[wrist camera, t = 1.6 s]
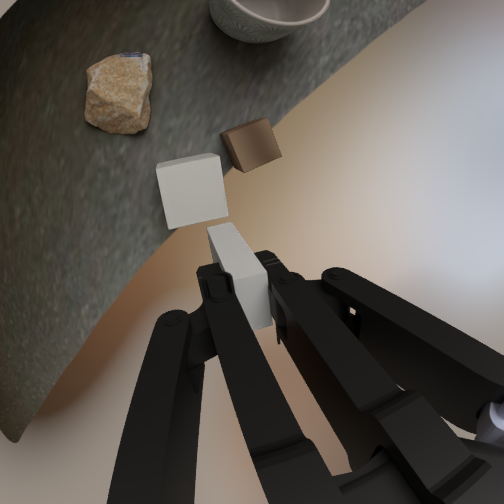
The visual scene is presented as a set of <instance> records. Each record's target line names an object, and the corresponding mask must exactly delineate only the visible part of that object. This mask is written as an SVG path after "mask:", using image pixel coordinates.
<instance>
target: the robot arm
mask: <svg viewBox="0 0 504 504" xmlns="http://www.w3.org/2000/svg"><path fill="white" fill-rule="evenodd" d="M207 232H208V238H209V243H210V248H211V253H212V258H213V264H208V265H205V266H200V267H199V268H198V270H197V272H196V274H197V278H198V282H199V286H200V291H201V295H202V298H203V302H202V305H201V306H200V307H199V308H198V309H197V310H196V311H194V312H192V313H190V314H188V313H187V312H185V311H183V310H171V311H168V312H166V313H164V314H162V315H161V316H160V317H159V318H158V319H157V321H156V324H155V327H154V329H153V332H152V335H151V338H150V341H149V344H148V348H147V351H146V354H145V357H144V360H143V363H142V367H141V370H140V373H139V376H138V380H137V383H136V386H135V390H134V393H133V397H132V400H131V404H130V407H129V411H128V414H127V418H126V422H125V426H124V429H123V433H122V437H121V441H120V445H119V449H118V454H117V458H116V462H115V467H114V471H113V475H112V480H111V485H110V489H109V494H108V500H107V504H194V497H195V479H196V463H197V450H198V449H197V448H198V435H199V424H200V412H201V401H202V390H203V379H204V369H205V364H204V362H205V361H207V360H209V359H211V358H213V357H215V356H216V355H218V357H219V360H220V363H221V367H222V371H223V374H224V377H225V380H226V384H227V386H228V390H229V393H230V396H231V399H232V403H233V406H234V409H235V412H236V415H237V418H238V421H239V424H240V427H241V430H242V433H243V436H244V439H245V441H246V444H247V447H248V450H249V453H250V456H251V458H252V461H253V464H254V466H255V469H256V472H257V475H258V477H259V480H260V483H261V485H262V488H263V490H264V493H265V495H266V498H267V500H268V503H269V504H504V355H502V354H500V353H498V352H496V351H495V350H493V349H491V348H490V347H488V346H486V345H484V344H483V343H481V342H479V341H478V340H476V339H474V338H472V337H470V336H469V335H467V334H465V333H464V332H462V331H460V330H458V329H457V328H455V327H453V326H451V325H449V324H448V323H446V322H444V321H442V320H441V319H438V318H437V317H435V316H433V315H432V314H430V313H428V312H426V311H424V310H422V309H421V308H419V307H417V306H415V305H413V304H411V303H409V302H408V301H406V300H404V299H402V298H400V297H399V296H397V295H395V294H393V293H391V292H389V291H387V290H385V289H383V288H382V287H380V286H378V285H376V284H374V283H372V282H370V281H368V280H367V279H365V278H363V277H361V276H359V275H357V274H355V273H353V272H351V271H349V270H347V269H344V268H339V267H335V268H334V267H333V268H330V269H326V270H325V271H324V272H323V273H322V277H321V278H322V279H321V280H305V279H304V278H303V277H302V276H301V275H299V274H298V273H295V272H289V271H288V269H287V268H286V267H285V266H284V265H283V263H282V262H280V260H279V259H278V258H277V257H276V255H275V254H274V253H272V252H270V251H267V250H264V251H260V252H256V253H253V252H252V250H251V249H250V248H249V246H248V245H247V243H246V242H245V240H244V239H243V238H242V236H241V235H240V234H239V232H238V231H237V229H236V228H235V226H234V225H233V224H232V222H228V223H224V224H219V225H215V226H210V227H207ZM350 307H351V308H353V309H354V310H356V313H355V315H354V314H352V313H350ZM272 317H273V318H274V320H275V323H276V332H277V342H278V344H280V339H281V340H282V342H283V344H284V345H285V347H286V349H287V351H288V352H289V354H290V356H291V358H292V360H293V361H294V363H295V365H296V366H297V368H298V370H299V372H300V373H301V375H302V377H303V379H304V380H305V382H306V384H307V386H308V387H309V389H310V391H311V393H312V394H313V396H314V398H315V399H316V401H317V403H318V405H319V406H320V408H321V410H322V411H323V413H324V415H325V417H326V418H327V420H328V422H329V423H330V425H331V427H332V428H333V430H334V432H335V434H336V435H337V437H338V439H339V440H340V442H341V444H342V445H343V447H344V449H345V450H346V452H347V455H348V460H349V464H350V467H351V469H352V472H350V473H346V474H341V475H336V476H332V475H331V473H330V472H329V470H328V468H327V466H326V464H325V463H324V461H323V459H322V457H321V455H320V453H319V451H318V449H317V448H316V446H315V445H314V443H313V442H312V441H311V440H310V439H308V438H306V437H305V436H304V434H303V433H302V430H301V429H300V426H299V425H298V423H297V421H296V419H295V417H294V415H293V413H292V411H291V409H290V407H289V405H288V403H287V401H286V399H285V397H284V395H283V393H282V391H281V389H280V386H279V384H278V382H277V381H276V378H275V376H274V374H273V372H272V370H271V368H270V366H269V364H268V362H267V360H266V358H265V356H264V354H263V351H262V349H261V347H260V345H259V343H258V341H257V339H256V337H255V334H254V332H253V331H254V330H257V329H261V328H264V327H268V326H271V325H273V323H272ZM397 385H399V386H400V387H401V388H403V389H404V390H405V391H403V390H401V389H400V388H399V387H398V386H397ZM441 417H443V418H444V419H446V420H447V421H449V422H450V423H452V424H454V425H455V426H457V427H459V428H461V429H463V430H465V431H467V432H470V433H474V434H477V435H476V437H475V440H470V439H465V438H460V437H458V436H457V435H456V434H455V433H454V432H453V430H452V429H451V428H450V427H449V426H448V425H447V423H446V422H445V421H444V420H443V419H442V418H441Z"/></svg>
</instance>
